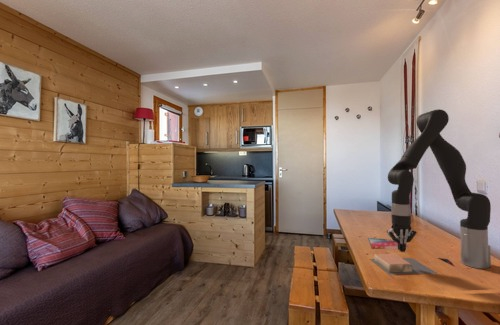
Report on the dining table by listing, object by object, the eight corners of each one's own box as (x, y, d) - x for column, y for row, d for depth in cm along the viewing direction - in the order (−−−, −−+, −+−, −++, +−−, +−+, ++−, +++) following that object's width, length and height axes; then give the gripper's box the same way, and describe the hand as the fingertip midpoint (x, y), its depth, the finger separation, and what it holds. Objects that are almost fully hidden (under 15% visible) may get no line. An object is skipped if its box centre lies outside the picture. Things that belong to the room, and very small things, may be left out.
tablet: (403, 241, 143) (402, 240, 143) (415, 257, 119) (415, 255, 119) (367, 238, 150) (367, 237, 150) (372, 252, 126) (372, 251, 126)
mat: (411, 259, 115) (411, 257, 115) (438, 275, 99) (438, 273, 99) (369, 261, 115) (369, 259, 115) (388, 276, 99) (388, 274, 99)
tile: (394, 253, 113) (373, 254, 113) (412, 264, 101) (389, 264, 101) (394, 260, 113) (374, 260, 113) (412, 271, 101) (389, 272, 101)
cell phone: (412, 256, 120) (412, 254, 120) (448, 261, 114) (448, 259, 114) (415, 262, 113) (415, 260, 113) (454, 267, 107) (454, 265, 107)
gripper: (409, 211, 111) (410, 248, 111) (381, 212, 111) (382, 248, 111) (421, 214, 104) (422, 254, 103) (391, 215, 103) (392, 254, 103)
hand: (401, 251), depth 107 cm, fingers closed
